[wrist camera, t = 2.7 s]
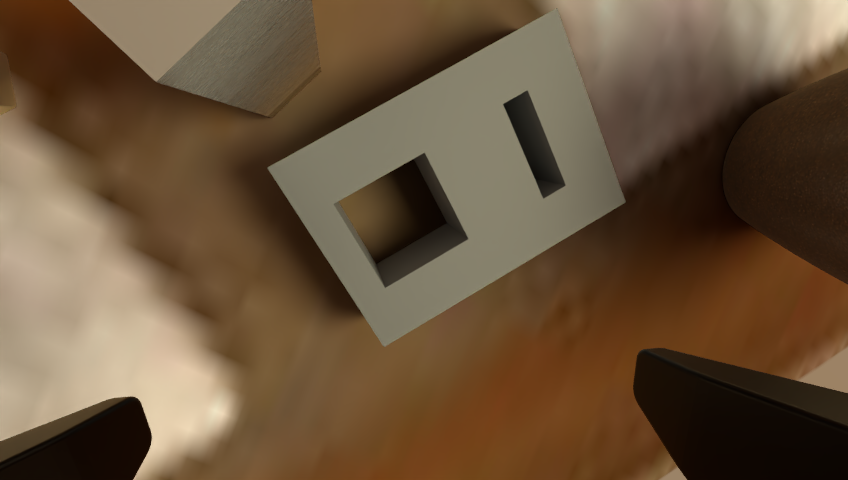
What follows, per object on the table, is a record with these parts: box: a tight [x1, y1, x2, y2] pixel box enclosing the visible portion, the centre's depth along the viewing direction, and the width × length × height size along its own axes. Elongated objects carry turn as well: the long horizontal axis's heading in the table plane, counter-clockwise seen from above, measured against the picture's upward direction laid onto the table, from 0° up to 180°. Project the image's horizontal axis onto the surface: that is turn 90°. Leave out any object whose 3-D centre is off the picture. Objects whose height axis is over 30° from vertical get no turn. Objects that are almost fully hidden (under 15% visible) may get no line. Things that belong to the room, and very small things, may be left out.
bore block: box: [268, 8, 626, 347], centre depth 19 cm, size 13×9×4 cm
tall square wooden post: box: [69, 0, 321, 118], centre depth 12 cm, size 3×3×13 cm
